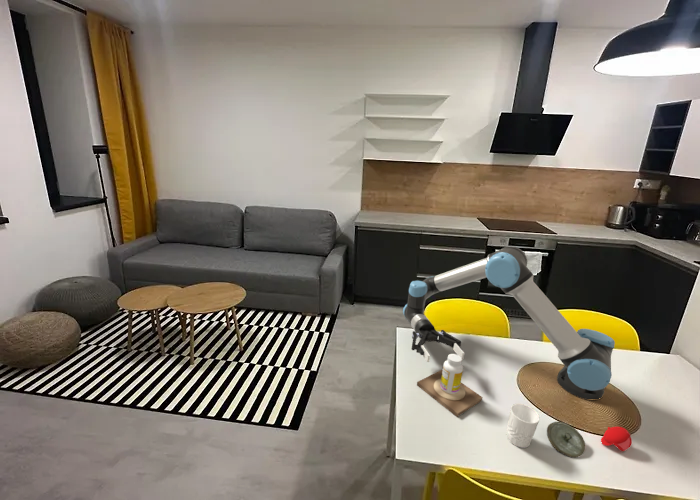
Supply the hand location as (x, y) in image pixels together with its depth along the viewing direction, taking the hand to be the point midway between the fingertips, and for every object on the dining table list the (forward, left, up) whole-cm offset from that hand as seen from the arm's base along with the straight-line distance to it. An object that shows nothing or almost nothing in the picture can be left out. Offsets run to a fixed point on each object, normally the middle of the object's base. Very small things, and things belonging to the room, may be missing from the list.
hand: (446, 357), depth 127 cm
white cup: (-30, 0, -11) cm, 32 cm away
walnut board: (-5, +2, -11) cm, 12 cm away
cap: (-48, -24, -11) cm, 55 cm away
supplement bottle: (-5, +2, -9) cm, 11 cm away
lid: (-39, -11, -11) cm, 42 cm away
